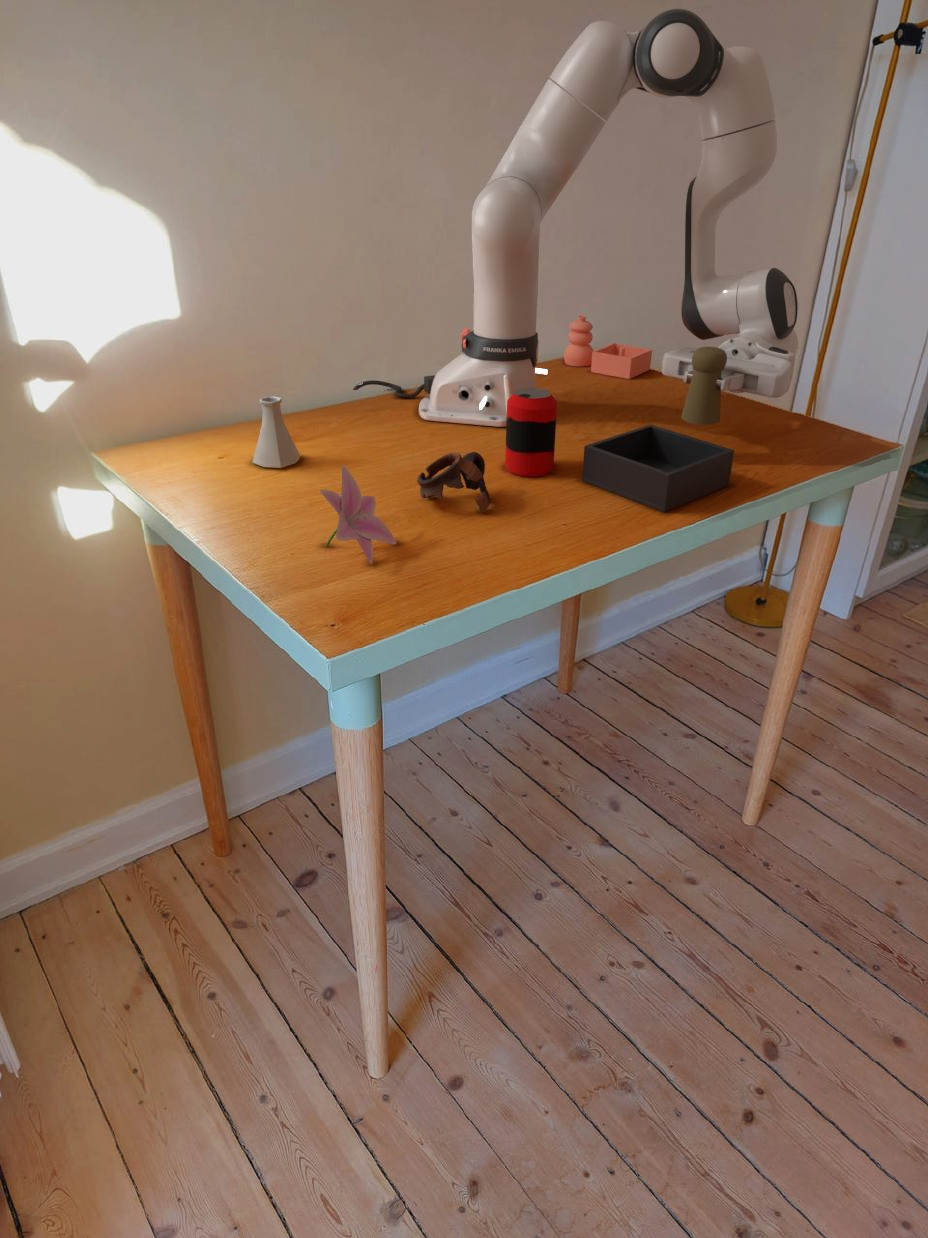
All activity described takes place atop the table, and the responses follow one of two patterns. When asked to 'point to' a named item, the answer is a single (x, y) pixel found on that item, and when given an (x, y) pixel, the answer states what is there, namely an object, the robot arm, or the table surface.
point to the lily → (357, 516)
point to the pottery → (604, 354)
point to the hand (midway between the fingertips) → (703, 381)
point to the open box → (657, 467)
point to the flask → (274, 437)
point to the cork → (705, 387)
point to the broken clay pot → (455, 476)
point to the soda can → (530, 432)
